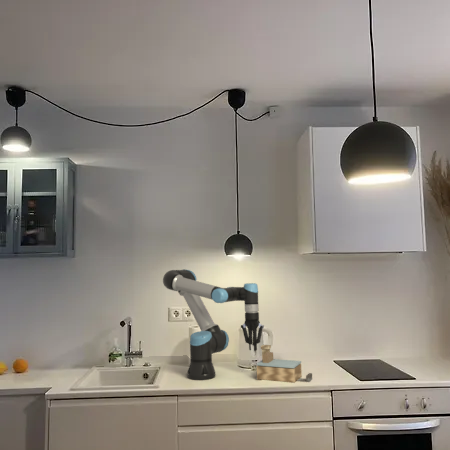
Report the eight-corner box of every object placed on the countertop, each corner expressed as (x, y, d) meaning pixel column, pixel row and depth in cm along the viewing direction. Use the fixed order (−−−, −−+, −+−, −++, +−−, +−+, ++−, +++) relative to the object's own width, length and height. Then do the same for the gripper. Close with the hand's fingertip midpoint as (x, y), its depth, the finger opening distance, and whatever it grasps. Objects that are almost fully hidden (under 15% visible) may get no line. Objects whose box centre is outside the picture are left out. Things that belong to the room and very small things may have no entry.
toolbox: (257, 380, 230) (256, 366, 231) (265, 374, 242) (265, 361, 243) (307, 384, 219) (306, 370, 220) (314, 378, 231) (313, 364, 231)
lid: (256, 365, 231) (256, 355, 231) (265, 360, 243) (265, 350, 243) (293, 368, 222) (293, 358, 223) (301, 362, 234) (300, 353, 235)
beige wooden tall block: (261, 370, 250) (260, 346, 252) (264, 369, 254) (263, 344, 255) (268, 371, 248) (268, 346, 250) (271, 369, 252) (270, 345, 254)
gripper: (237, 312, 241) (239, 357, 238) (260, 313, 235) (262, 358, 233) (243, 311, 247) (244, 354, 245) (265, 311, 242) (267, 356, 239)
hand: (253, 356), depth 239 cm, fingers closed
